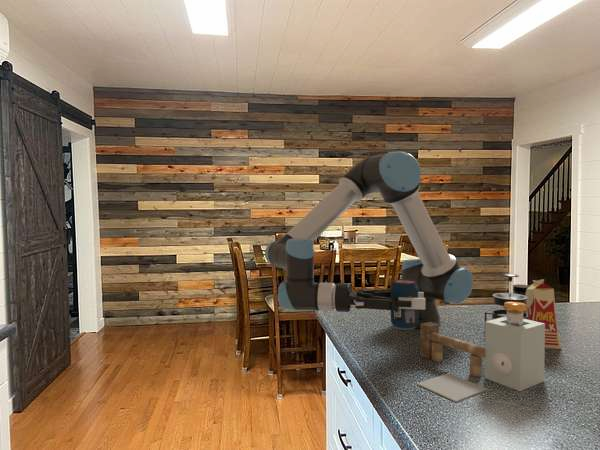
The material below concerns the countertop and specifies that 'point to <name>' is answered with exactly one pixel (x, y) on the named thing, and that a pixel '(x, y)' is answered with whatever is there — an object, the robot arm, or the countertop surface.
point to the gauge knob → (515, 313)
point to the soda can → (404, 316)
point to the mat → (452, 387)
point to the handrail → (434, 346)
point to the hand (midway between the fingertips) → (424, 300)
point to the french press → (506, 300)
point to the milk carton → (543, 311)
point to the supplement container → (520, 289)
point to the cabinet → (514, 353)
